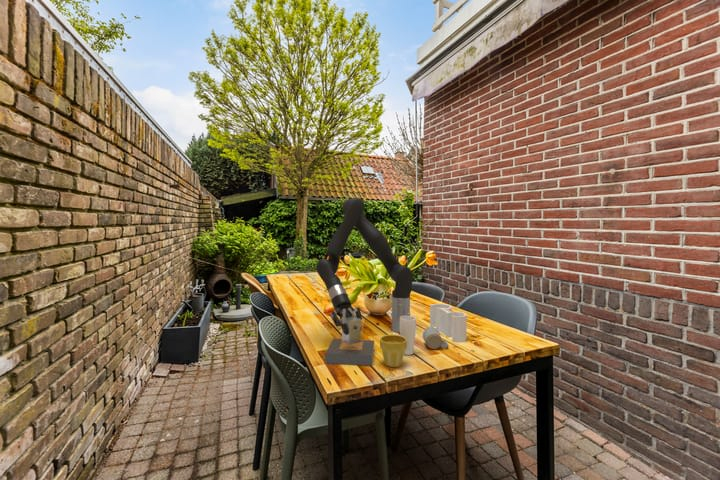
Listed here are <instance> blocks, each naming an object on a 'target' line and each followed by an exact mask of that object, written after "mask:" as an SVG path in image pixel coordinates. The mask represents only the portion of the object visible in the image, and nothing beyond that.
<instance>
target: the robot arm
mask: <svg viewBox="0 0 720 480" xmlns="http://www.w3.org/2000/svg"><path fill="white" fill-rule="evenodd" d="M341 211H342V213H343V215H344V217H343V218H342V221H341V223H340V225H339V227H338V228H337V229H336V231H335V233H334V234H333V236H332V237H331V238H330V239H331V240H330V242H329V244H328V246H327V247H326V254H327V255H328V258H327V259H326V258H321V259H319V260H318V261H317V262H316V265H315V267H316V272H317V274H318V276H319V278H320V279H321V280H322V282H323V284H324V285H325V288H326V290H327V293H328V297H329V299H330V301H331V304H332V306H333V310H332V311H331V313H330V314H329V316H330V318H331V320H332V321H333V323H334V325H335V326H336V327H341V331H342V330H343V333H344V334H345V335H347V334H348V333H349V331H348V329H347V326H346V324H345V321H344V319H345V318H346V317H351V316H353V317H357V318H359V319H361V321H362V320H363V316H362V313H361V308H360V307H356V308H355V307H353V306H352V302H351V300H350V298H349V296H348V293H347V291H346V289H345V287H344V286H343V283H342V281H341V279H340V278H339V276H338V275H337V272H338V269H339V266H340V265H339V264H340V260H341V255H342V254H343V251H344V249H345V246H346V244H347V241H348V239H349V237H350V235H351V233H352V231H353V230H354V228H356V230H357V231H358V233H359V235H360V236H361V237H362V238H363V240H364V242H365V243H366V244H367V246H368V248H370V250H371V251H372V253H373V254H374V255H375V257H376V258H377V259H378V260H379V261H380V262H381V263H382V265H383V267H384V269H385V270H386V272H387V274H388V275H389V277H390V279H391V280H392V281H394V284H395V285H394V290H392V291H391V324H390V325H391V331H392V332H395V333H400V317H401V316H411V293H412V290H413V272H412V270H411V268H410V267H408V266H406V265H402V264H401V263H400V262H399V261H398V259H397V258H396V257H395V256H394V254H393V251H392V248H391V245H390V243H389V241H388V239H387V238H386V236H385V235H384V233H383V232H382V231H381V230H380V229H379V228H378V227H376V225H374V224H373V223H372V222H370V221H369V220H368V219H367V217H366V216H365V214H364V212H365V203H364V201H363V199H362V198H359V197H351V198H349V199H346V200H344V201H343V203H342V205H341ZM334 310H335V311H334ZM362 329H363V328H362V326H361V330H362Z"/></svg>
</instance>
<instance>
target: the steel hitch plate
mask: <svg viewBox="0 0 720 480" xmlns="http://www.w3.org/2000/svg"><path fill="white" fill-rule="evenodd" d="M374 354H375V340H373V339H372V340H371V339H370V340H369V339H368V340H367V339H361V340H360V342H359V343H355V344H351V345H348V344H347V343H345V342H343V341H342V338H332V340H331V342H330V344H329V346H328V347H327V349H326V351H325V358H324V359H325V362H324V363H325V364H332V365H333V364H334V365H349V366H350V365H351V366H353V365H354V366H366V367H367V366H370V367H372V366H373V361H374Z"/></svg>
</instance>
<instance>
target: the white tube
mask: <svg viewBox="0 0 720 480" xmlns="http://www.w3.org/2000/svg"><path fill="white" fill-rule="evenodd" d="M416 330H417V317H415V316H412V315H410V316H401V317H400V332H399V335H400V336H403V337H405V338H406V339H407V348H406V350H405V352H404V355H405V356H410V355H414V353H415V349H414V347H415V342H416V341H415V340H416Z"/></svg>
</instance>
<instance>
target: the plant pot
mask: <svg viewBox="0 0 720 480" xmlns="http://www.w3.org/2000/svg"><path fill="white" fill-rule="evenodd" d="M379 348H380V349H381V351H382V357H383V362H384V365H386V367H391V368H398V367H400V366H402V365H403V360H404V352H405V350H406V348H407V339H406V338H405V337H403V336H400V334H385V335H381V336H380V339H379Z"/></svg>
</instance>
